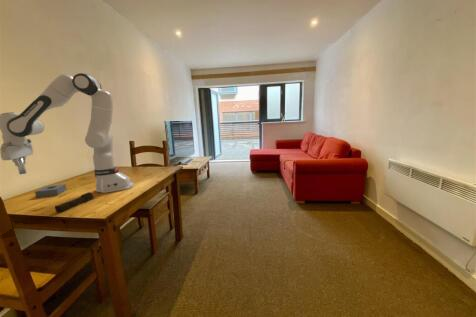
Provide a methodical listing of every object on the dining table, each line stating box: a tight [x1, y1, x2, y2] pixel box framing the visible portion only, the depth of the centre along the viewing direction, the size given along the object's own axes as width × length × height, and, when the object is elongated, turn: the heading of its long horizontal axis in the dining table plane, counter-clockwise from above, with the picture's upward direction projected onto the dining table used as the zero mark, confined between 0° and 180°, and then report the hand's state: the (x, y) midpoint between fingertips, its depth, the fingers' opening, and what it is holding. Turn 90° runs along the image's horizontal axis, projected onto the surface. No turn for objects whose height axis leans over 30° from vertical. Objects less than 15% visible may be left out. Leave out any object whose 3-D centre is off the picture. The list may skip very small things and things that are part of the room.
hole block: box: [34, 183, 67, 199], centre depth 131 cm, size 11×11×4 cm
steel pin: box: [16, 157, 27, 175], centre depth 120 cm, size 3×3×10 cm
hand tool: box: [54, 192, 94, 213], centre depth 111 cm, size 19×4×5 cm, turn 162°
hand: (21, 165), depth 120 cm, fingers closed on steel pin, 3 cm apart
